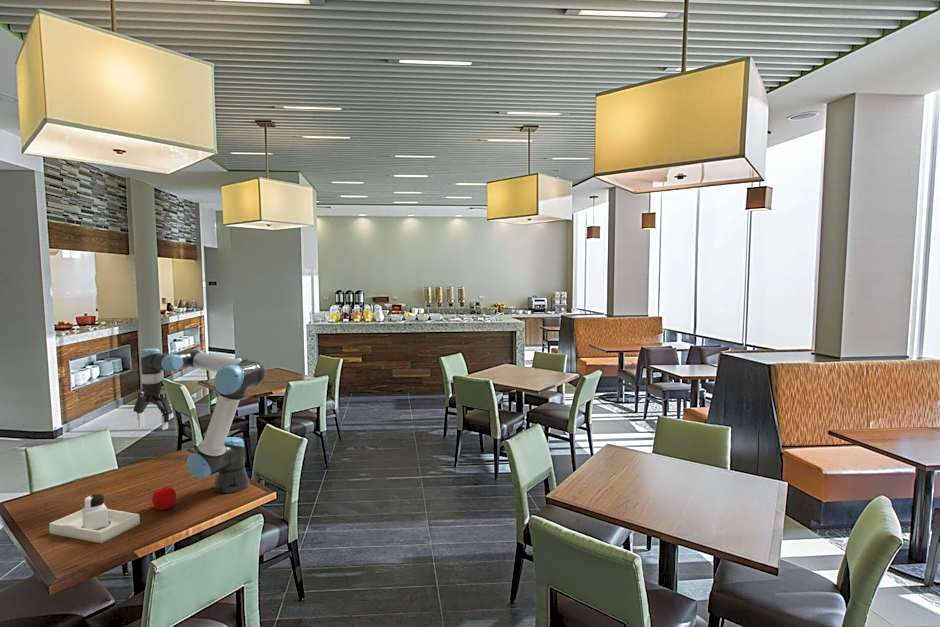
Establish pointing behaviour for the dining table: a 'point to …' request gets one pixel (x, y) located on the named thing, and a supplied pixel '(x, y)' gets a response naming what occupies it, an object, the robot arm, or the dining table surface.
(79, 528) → the tray
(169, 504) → the fruit
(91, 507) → the medicine bottle
